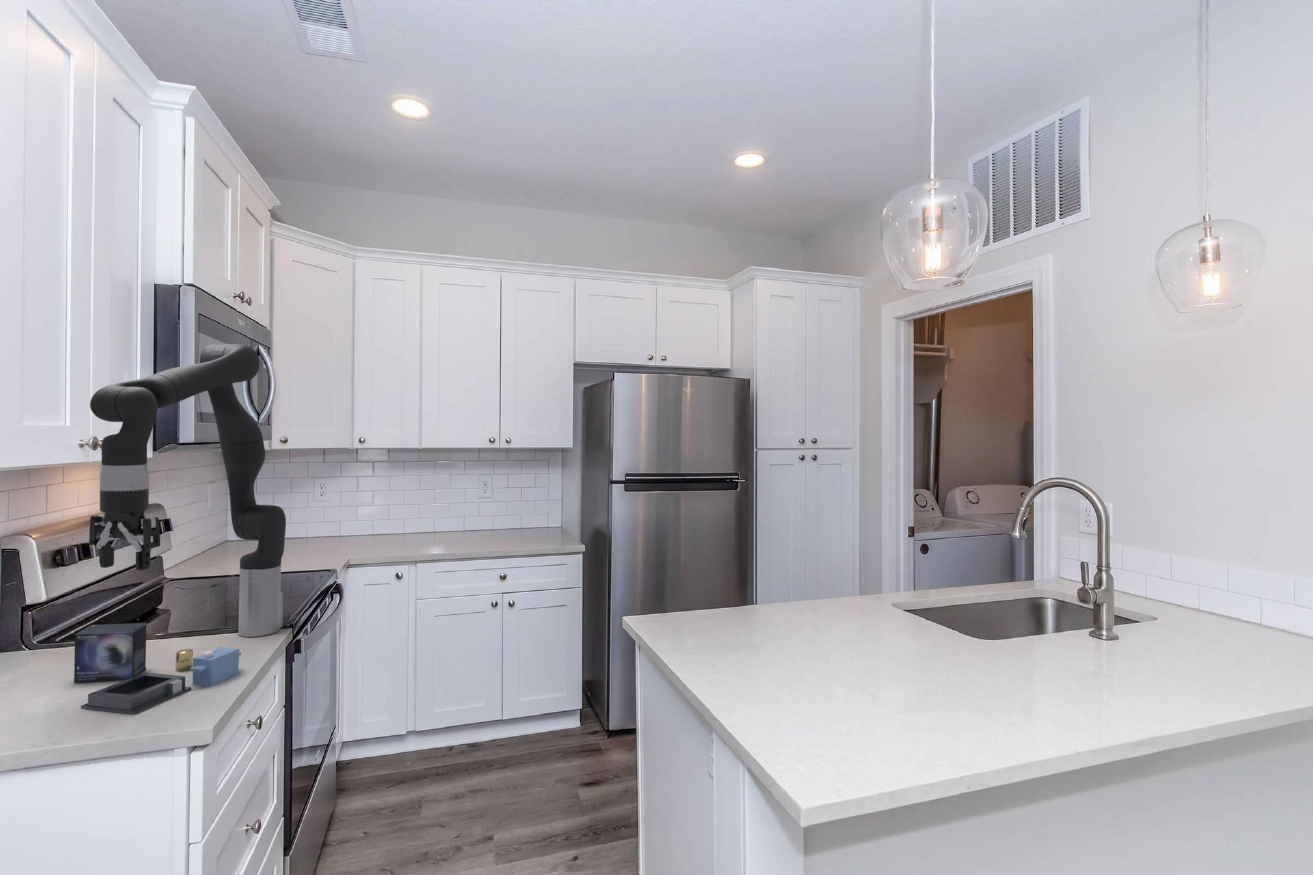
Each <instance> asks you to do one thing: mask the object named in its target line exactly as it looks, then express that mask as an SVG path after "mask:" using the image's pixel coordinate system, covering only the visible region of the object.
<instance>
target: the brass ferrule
mask: <svg viewBox="0 0 1313 875" xmlns="http://www.w3.org/2000/svg"><path fill="white" fill-rule="evenodd" d="M193 658H194V649H192V648H184V649H180V650H179V649H178V650H177V651H176V652H175V671H176V672H178V673H181V672H182V673H183V672H187V671H190V668H192V667H193Z"/></svg>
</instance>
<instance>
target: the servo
mask: <svg viewBox="0 0 1313 875" xmlns="http://www.w3.org/2000/svg"><path fill="white" fill-rule="evenodd" d="M241 655H242V652H241V651H240V648H233V647H224V646H223V647H222V646H221V647H218V648H216V649H213V650H206V651H204V652H203V653H202V654H201V655H198V656H196V657H193V667H192V668H190V670H189V671H190V672H192V685H196V686H197V685H199V686H208V687H209V686H210V687H213V686H215V685H217V684H220V683H221V682H224V681H225V680H228V679H230V678H233V677H234V676H237V675H239V669H240V666H239V664H240V656H241Z"/></svg>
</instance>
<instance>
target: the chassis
mask: <svg viewBox="0 0 1313 875" xmlns="http://www.w3.org/2000/svg"><path fill="white" fill-rule="evenodd" d="M191 690H192V687H191V686H186V675H185V676H184V675H176V674H167V673H158V672H157V673H156V672H148V671H145V672H142V673H140V674H139V675H137V676H134V677H132V678H129V679H127V680H120V682H116V683H114V684H112V685H108V686H106V687H104V688H101V689H98V690H96V691H93V692H91V693H89V694H87V703H85V704H81V705H80V710H81V709H83V710H91V711H99V712H108V713H109V712H110V713H115V714H116V713H117V714H123V715H124V714H126V715H133V716H134V715H137V714H140V713H142V712H144V711H147V710H149V709H151V708H154V707H155V706H157V705H160V704H162V703H164V702H166V701H169V700H170V699H174V698H177V697H178V696H180V695H182V694H184V693H187V692H189V691H191Z"/></svg>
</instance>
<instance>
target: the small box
mask: <svg viewBox="0 0 1313 875" xmlns="http://www.w3.org/2000/svg"><path fill="white" fill-rule="evenodd" d="M147 624H148V623H147V622H137V623H136V622H133V623H113V624H110V623H109V624H108V623H107V624H91V625H89V626H87V627H85V628H84V629H82V630H81V631H78V632H77V633H75V634H74V671H73V672H74V673H73V674H74V677H73V683H74V684H78V683H93V682H95V683H96V682H111V681H113V682H115V681H124V680H127V679H129V678H132V677H134V676H137V675H140V674H142V673H144V671H146V670H147V666H146V665H147V664H146V662H147V661H146V658H147V655H146V654H147V626H148V625H147Z"/></svg>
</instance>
